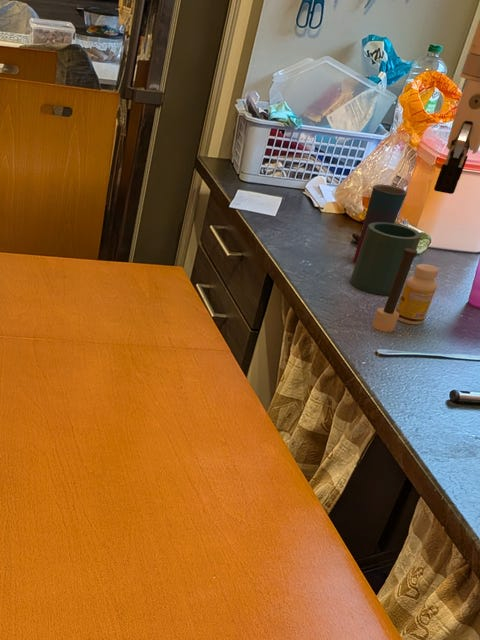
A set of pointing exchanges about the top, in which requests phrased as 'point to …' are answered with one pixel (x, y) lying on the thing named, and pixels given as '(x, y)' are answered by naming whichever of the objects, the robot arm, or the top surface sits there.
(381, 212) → the cup
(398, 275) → the brush
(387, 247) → the jar
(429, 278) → the supplement bottle
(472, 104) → the robot arm
